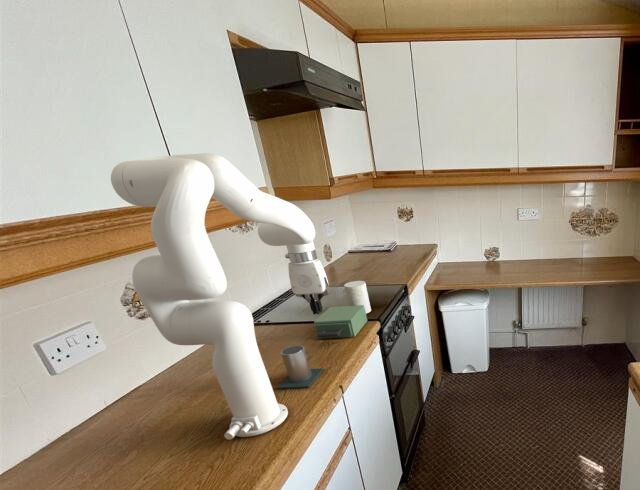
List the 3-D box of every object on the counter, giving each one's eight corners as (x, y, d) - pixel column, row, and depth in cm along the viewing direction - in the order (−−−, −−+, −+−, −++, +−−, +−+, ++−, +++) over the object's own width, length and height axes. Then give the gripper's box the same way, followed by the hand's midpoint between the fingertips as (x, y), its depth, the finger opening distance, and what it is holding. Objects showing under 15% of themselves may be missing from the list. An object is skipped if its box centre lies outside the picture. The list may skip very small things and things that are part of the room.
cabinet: (354, 336, 145) (350, 319, 142) (318, 338, 145) (313, 321, 142) (367, 320, 158) (364, 305, 156) (334, 322, 158) (330, 306, 156)
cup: (346, 314, 165) (339, 286, 160) (357, 307, 173) (351, 280, 167) (364, 315, 164) (357, 287, 158) (374, 308, 171) (369, 281, 166)
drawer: (346, 341, 139) (343, 329, 137) (312, 343, 140) (308, 330, 138) (363, 321, 156) (361, 309, 154) (332, 322, 156) (329, 311, 154)
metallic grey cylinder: (306, 382, 116) (298, 354, 113) (286, 383, 116) (276, 355, 113) (315, 371, 122) (307, 344, 118) (295, 372, 122) (287, 345, 118)
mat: (308, 387, 115) (308, 386, 114) (277, 389, 115) (276, 387, 114) (323, 370, 124) (322, 368, 123) (294, 371, 124) (293, 369, 123)
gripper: (272, 261, 122) (289, 318, 129) (322, 258, 121) (336, 315, 129) (285, 255, 128) (300, 310, 136) (332, 253, 128) (344, 307, 136)
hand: (317, 312), depth 132 cm, fingers closed
